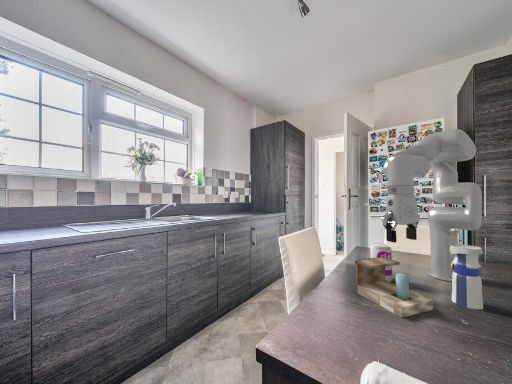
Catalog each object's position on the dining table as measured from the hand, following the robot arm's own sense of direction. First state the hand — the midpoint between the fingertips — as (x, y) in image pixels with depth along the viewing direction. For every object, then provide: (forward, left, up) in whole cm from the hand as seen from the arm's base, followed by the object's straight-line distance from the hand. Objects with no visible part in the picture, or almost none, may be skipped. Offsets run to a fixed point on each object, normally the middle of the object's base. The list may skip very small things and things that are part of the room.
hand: (401, 240), depth 74 cm
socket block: (+3, -2, -21) cm, 21 cm away
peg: (+2, +2, -21) cm, 21 cm away
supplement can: (-10, -17, -21) cm, 29 cm away
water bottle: (-19, +8, -21) cm, 30 cm away
